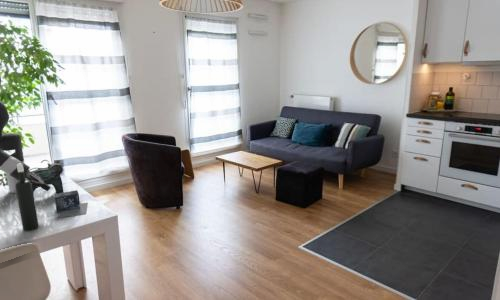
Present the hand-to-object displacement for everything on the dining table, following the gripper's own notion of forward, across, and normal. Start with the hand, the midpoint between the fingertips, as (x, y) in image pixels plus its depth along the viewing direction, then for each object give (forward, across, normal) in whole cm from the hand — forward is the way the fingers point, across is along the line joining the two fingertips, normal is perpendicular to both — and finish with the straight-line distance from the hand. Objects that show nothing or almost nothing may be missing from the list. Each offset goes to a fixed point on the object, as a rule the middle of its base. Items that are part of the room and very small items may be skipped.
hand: (49, 189), depth 160 cm
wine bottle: (+4, -15, +13) cm, 20 cm away
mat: (+15, -1, +2) cm, 15 cm away
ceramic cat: (+4, +24, +13) cm, 28 cm away
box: (+6, 0, +5) cm, 8 cm away
